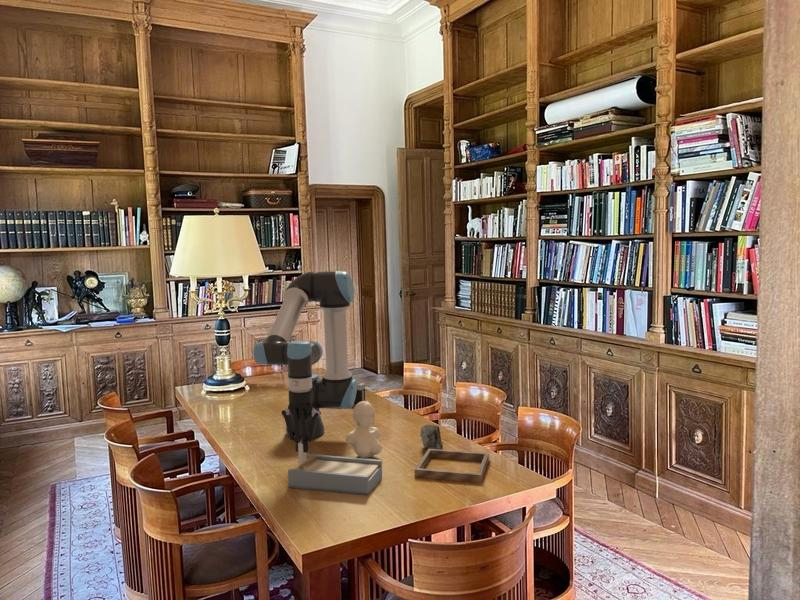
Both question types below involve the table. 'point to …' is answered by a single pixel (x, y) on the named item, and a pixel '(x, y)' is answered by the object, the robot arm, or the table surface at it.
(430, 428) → the stone
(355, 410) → the figurine
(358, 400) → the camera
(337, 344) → the robot arm
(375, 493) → the table surface
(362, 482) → the pencil box
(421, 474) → the brown wooden frame
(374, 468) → the lid
